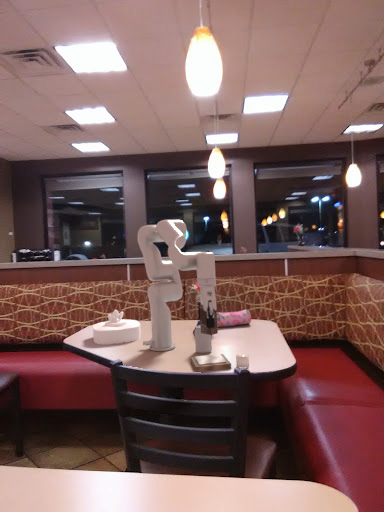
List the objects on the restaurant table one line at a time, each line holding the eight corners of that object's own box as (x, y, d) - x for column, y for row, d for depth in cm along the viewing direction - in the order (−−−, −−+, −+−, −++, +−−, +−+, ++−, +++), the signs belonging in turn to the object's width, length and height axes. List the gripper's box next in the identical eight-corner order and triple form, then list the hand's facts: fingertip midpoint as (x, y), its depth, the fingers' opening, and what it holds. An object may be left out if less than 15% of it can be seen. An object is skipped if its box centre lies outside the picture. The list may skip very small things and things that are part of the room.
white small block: (238, 369, 157) (237, 358, 156) (235, 365, 161) (234, 354, 161) (250, 368, 157) (250, 356, 157) (247, 364, 162) (246, 353, 162)
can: (206, 354, 178) (205, 328, 178) (192, 353, 182) (191, 327, 182) (214, 350, 185) (213, 324, 184) (201, 348, 189) (199, 323, 188)
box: (200, 333, 164) (198, 304, 163) (207, 331, 167) (206, 303, 166) (210, 335, 159) (209, 305, 159) (218, 333, 162) (217, 304, 162)
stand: (196, 372, 155) (196, 365, 155) (191, 361, 169) (190, 355, 169) (231, 368, 158) (231, 362, 158) (223, 358, 171) (222, 352, 171)
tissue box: (92, 336, 228) (91, 308, 227) (136, 331, 235) (134, 304, 234) (95, 346, 204) (93, 315, 203) (143, 340, 211) (141, 310, 210)
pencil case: (217, 329, 230) (217, 313, 229) (213, 325, 238) (212, 311, 238) (252, 325, 234) (252, 310, 234) (247, 322, 243) (246, 308, 243)
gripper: (220, 283, 154) (222, 329, 155) (211, 280, 171) (213, 321, 172) (201, 285, 153) (203, 331, 154) (194, 281, 170) (196, 322, 171)
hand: (208, 325), depth 163 cm, fingers closed on box, 7 cm apart
